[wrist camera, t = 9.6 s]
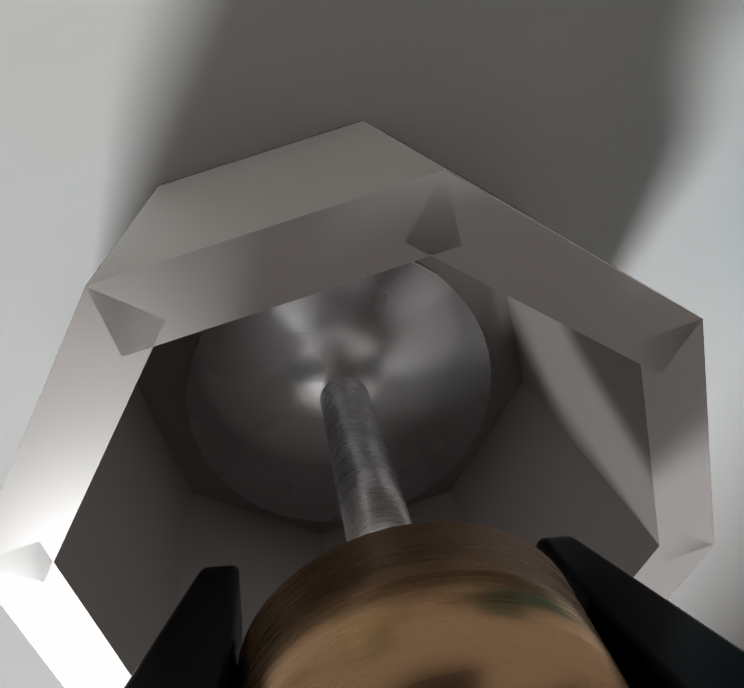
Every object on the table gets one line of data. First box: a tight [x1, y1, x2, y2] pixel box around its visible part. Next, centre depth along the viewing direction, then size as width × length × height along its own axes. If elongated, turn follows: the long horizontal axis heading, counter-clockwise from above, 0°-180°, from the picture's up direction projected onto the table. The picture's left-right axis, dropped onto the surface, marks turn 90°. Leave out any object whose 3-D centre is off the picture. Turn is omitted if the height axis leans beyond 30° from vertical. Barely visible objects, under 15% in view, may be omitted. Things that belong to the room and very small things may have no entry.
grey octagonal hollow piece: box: [0, 121, 714, 688], centre depth 11 cm, size 11×9×5 cm
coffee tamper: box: [186, 260, 630, 688], centre depth 9 cm, size 6×6×8 cm
